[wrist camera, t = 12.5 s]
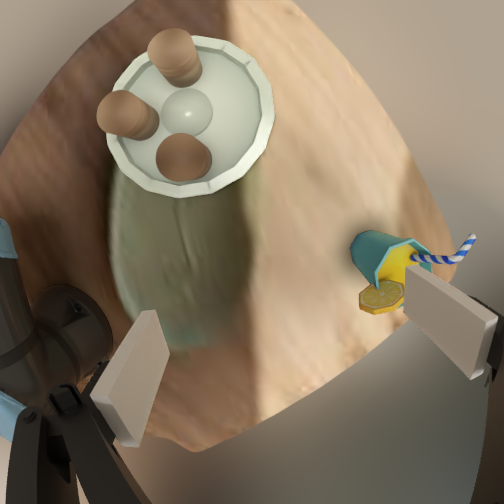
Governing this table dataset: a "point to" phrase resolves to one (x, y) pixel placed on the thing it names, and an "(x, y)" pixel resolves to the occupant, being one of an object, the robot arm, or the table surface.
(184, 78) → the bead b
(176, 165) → the brown stubby piece
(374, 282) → the cup
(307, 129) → the table surface
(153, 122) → the brown rounded cylinder
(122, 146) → the tray
